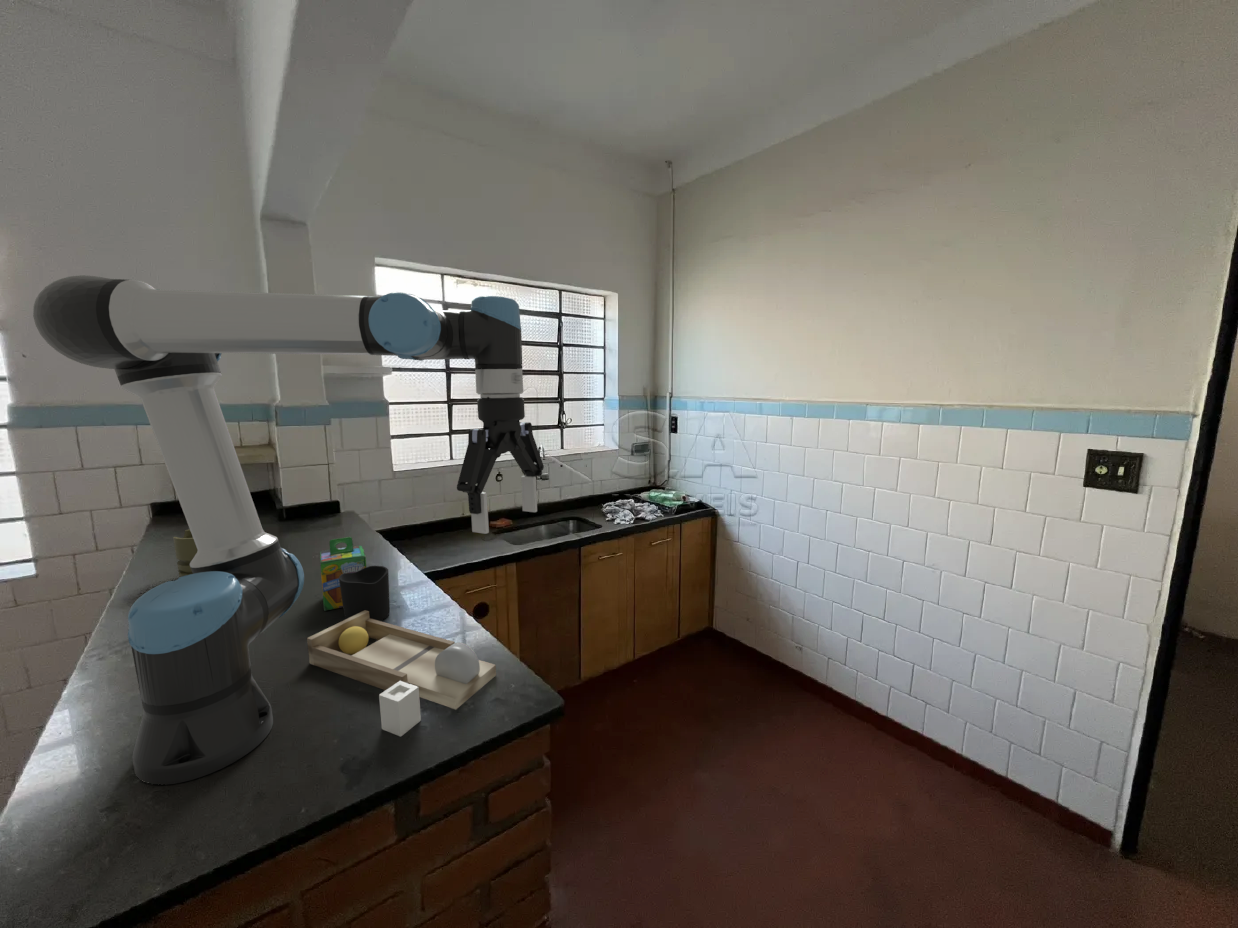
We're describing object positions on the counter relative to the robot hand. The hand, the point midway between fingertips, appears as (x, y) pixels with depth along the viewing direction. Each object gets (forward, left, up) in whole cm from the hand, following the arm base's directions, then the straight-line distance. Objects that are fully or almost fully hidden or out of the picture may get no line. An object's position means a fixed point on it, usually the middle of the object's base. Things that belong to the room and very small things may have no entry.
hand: (507, 521), depth 84 cm
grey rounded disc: (-9, +5, -27) cm, 29 cm away
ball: (-9, +30, -25) cm, 40 cm away
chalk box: (+6, +52, -27) cm, 59 cm away
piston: (+1, +98, -27) cm, 102 cm away
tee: (-20, +6, -27) cm, 34 cm away
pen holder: (+2, +40, -27) cm, 48 cm away
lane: (-9, +18, -27) cm, 33 cm away
